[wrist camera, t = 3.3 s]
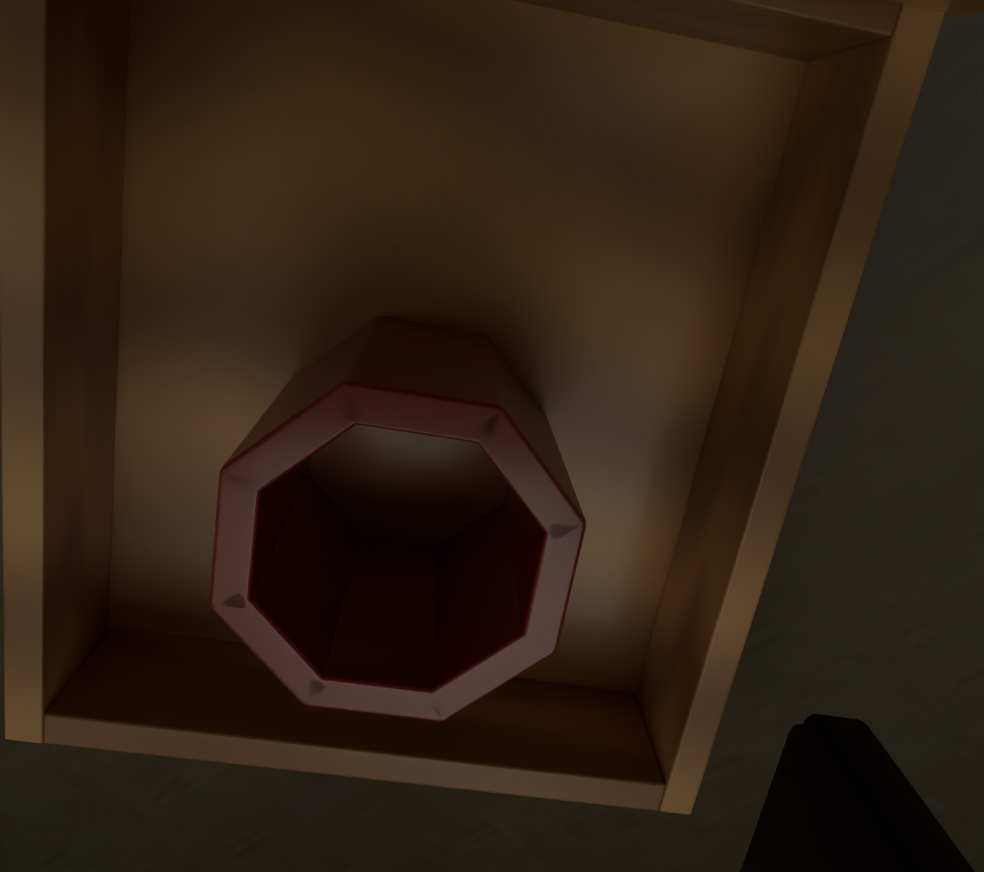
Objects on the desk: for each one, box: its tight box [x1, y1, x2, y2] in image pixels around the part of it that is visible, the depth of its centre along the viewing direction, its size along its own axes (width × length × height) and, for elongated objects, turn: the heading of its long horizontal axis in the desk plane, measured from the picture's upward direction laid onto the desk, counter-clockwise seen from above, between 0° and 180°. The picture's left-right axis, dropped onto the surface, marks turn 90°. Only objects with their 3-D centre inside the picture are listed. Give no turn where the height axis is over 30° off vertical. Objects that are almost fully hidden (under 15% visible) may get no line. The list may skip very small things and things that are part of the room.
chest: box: [0, 0, 945, 814], centre depth 18 cm, size 18×16×4 cm
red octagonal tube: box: [209, 316, 586, 722], centre depth 17 cm, size 6×6×6 cm
